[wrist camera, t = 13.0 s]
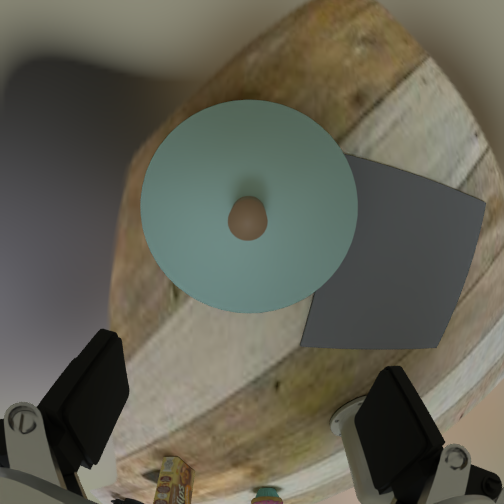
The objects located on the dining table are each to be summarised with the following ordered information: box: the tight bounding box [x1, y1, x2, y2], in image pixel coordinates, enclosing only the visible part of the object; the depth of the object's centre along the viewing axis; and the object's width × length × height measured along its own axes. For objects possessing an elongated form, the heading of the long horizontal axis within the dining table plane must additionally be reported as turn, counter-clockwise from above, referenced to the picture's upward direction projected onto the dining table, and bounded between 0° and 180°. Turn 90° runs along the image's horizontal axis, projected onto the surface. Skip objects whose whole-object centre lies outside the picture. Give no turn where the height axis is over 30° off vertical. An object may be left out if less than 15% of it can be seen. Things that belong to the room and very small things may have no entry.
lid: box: [141, 100, 358, 313], centre depth 25 cm, size 22×22×5 cm
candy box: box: [153, 457, 195, 504], centre depth 41 cm, size 9×4×15 cm, turn 20°
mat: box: [300, 154, 486, 349], centre depth 32 cm, size 25×25×1 cm
